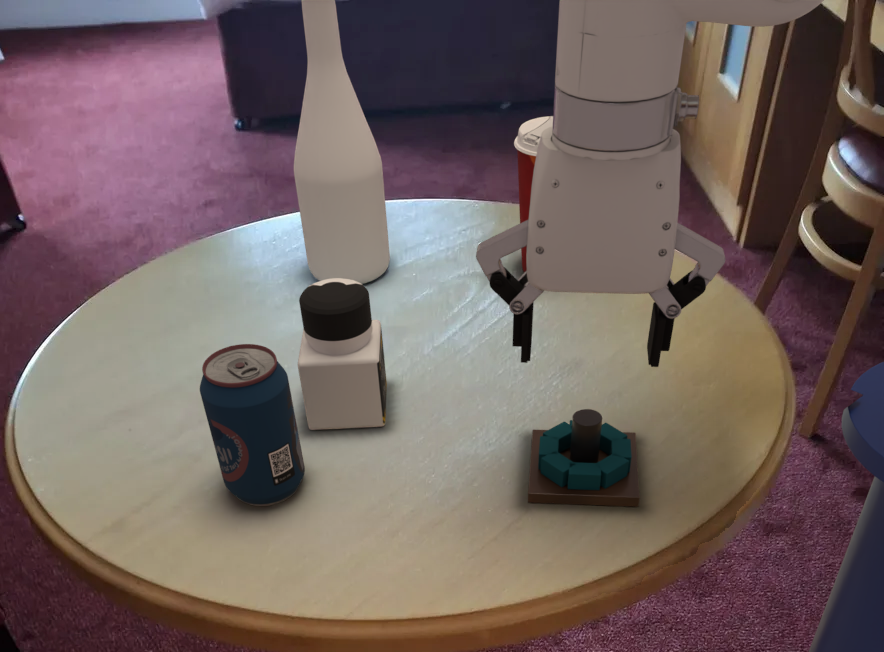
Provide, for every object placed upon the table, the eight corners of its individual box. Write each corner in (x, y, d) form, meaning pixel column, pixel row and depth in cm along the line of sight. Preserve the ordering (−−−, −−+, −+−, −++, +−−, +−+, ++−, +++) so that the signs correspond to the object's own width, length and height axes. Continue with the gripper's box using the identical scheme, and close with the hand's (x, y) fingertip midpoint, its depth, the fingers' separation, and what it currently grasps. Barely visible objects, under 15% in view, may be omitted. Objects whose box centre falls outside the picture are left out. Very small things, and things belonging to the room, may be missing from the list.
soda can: (211, 485, 79) (177, 363, 70) (277, 451, 82) (252, 330, 74) (256, 522, 75) (225, 398, 67) (323, 485, 78) (302, 362, 70)
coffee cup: (549, 292, 100) (556, 148, 90) (497, 268, 105) (497, 129, 94) (600, 266, 104) (612, 125, 93) (547, 244, 108) (553, 108, 98)
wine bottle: (326, 248, 110) (285, -51, 89) (400, 254, 108) (377, -50, 87) (297, 285, 104) (246, -27, 83) (376, 292, 102) (344, -26, 81)
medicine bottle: (385, 428, 84) (373, 307, 75) (308, 431, 84) (287, 311, 75) (387, 385, 89) (375, 267, 80) (314, 388, 89) (295, 271, 80)
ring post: (634, 441, 81) (641, 387, 77) (638, 507, 74) (646, 452, 70) (532, 438, 82) (534, 385, 78) (527, 502, 75) (529, 448, 72)
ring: (627, 436, 80) (629, 421, 78) (630, 491, 74) (632, 476, 73) (540, 434, 80) (540, 418, 79) (536, 488, 75) (537, 472, 74)
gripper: (745, 96, 59) (699, 334, 72) (481, 95, 61) (480, 327, 74) (760, 137, 54) (708, 386, 66) (471, 135, 56) (472, 378, 68)
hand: (588, 355), depth 70 cm, fingers open, 9 cm apart
